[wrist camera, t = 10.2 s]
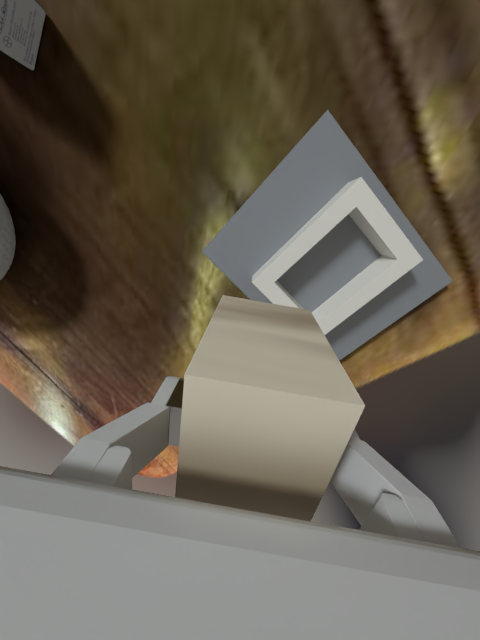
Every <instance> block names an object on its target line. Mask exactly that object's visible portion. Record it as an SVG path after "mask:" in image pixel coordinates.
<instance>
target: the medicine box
mask: <svg viewBox="0 0 480 640" xmlns="http://www.w3.org/2000/svg"><path fill="white" fill-rule="evenodd" d="M45 15H46V14H45V11H44V10H43V9H42V8H41V7H40V6H39V5H38V4H37V3H36V2H35V1H34V0H0V50H1V51H2V52H4V53H5V54H7V55H8V56H10V57H11V58H13V59H14V60H16V61H18V62H19V63H21V64H22V65H24V66H25V67H27V68H29V69H31V70H34V68H35V63H36V58H37V53H38V48H39V44H40V39H41V34H42V29H43V24H44V20H45Z"/></svg>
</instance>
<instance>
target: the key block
mask: <svg viewBox="0 0 480 640" xmlns="http://www.w3.org/2000/svg"><path fill="white" fill-rule="evenodd" d="M364 407H365V405H364V403H363V401H362V400H361V398H360V396H359V394H358V392H357V391H356V389H355V387H354V386H353V384H352V382H351V380H350V379H349V377H348V375H347V373H346V372H345V370H344V368H343V366H342V365H341V363H340V361H339V360H338V358H337V356H336V354H335V353H334V351H333V349H332V347H331V346H330V344H329V342H328V340H327V339H326V337H325V335H324V334H323V332H322V330H321V328H320V327H319V325H318V323H317V321H316V320H315V318H314V316H313V314H312V313H311V311H310V310H306V309H300V308H295V307H289V306H283V305H277V304H271V303H265V302H260V301H254V300H248V299H242V298H236V297H230V296H225V295H223V296H222V298H221V300H220V302H219V304H218V306H217V308H216V310H215V312H214V314H213V316H212V318H211V321H210V323H209V325H208V327H207V329H206V331H205V333H204V335H203V337H202V339H201V341H200V343H199V345H198V347H197V350H196V352H195V354H194V356H193V358H192V360H191V362H190V364H189V366H188V368H187V370H186V372H185V374H184V387H183V401H182V414H181V427H180V441H179V454H178V468H177V481H176V494H175V497H176V498H182V499H188V500H193V501H199V502H204V503H210V504H215V505H221V506H227V507H232V508H238V509H243V510H249V511H254V512H260V513H266V514H271V515H277V516H282V517H288V518H293V519H299V520H305V521H310V522H311V519H312V517H313V515H314V513H315V511H316V509H317V506H318V505H319V502H320V500H321V498H322V496H323V494H324V492H325V490H326V488H327V486H328V483H329V481H330V479H331V477H332V475H333V473H334V471H335V469H336V467H337V465H338V462H339V460H340V458H341V456H342V454H343V452H344V450H345V448H346V446H347V443H348V441H349V439H350V437H351V435H352V433H353V431H354V429H355V426H356V424H357V422H358V420H359V418H360V416H361V414H362V412H363V410H364Z"/></svg>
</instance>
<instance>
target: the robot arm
mask: <svg viewBox="0 0 480 640" xmlns="http://www.w3.org/2000/svg"><path fill="white" fill-rule="evenodd" d="M183 387H184V378H179V377H173V376H167V377H166V378H165V380H164V382H163V383H162V385H161V387H160V388H159V390H158V392H157V393H156V395H155V397H154V399H153V400H152V402H151V403H145V404H144V405H142V406H140V407H138V408H136V409H134V410H132V411H131V412H129V413H127V414H125V415H123V416H121V417H119V418H118V419H116V420H114V421H112V422H110V423H108V424H106V425H105V426H103V427H101V428H99V429H97V430H95V431H93V432H92V433H90V434H88V435H86V436H84V437H82V438H81V439H80V440H79V441H78V443H77V444H76V445H75V446H74V448H73V449H72V450H71V451H70V453H69V454H68V455H67V456H66V457H65V459H64V460H63V461H62V462H61V463H60V465H59V466H58V467H57V468H56V469H55V471H54V472H53V473H52V474H51V475H47V474H42V473H36V472H30V471H25V470H19V469H14V468H8V467H2V466H0V640H480V552H479V551H473V550H467V549H462V548H461V547H460V546H459V544H458V542H457V541H456V539H455V538H454V536H453V534H452V533H451V531H450V529H449V528H448V526H447V525H446V523H445V521H444V520H443V518H442V517H441V515H440V513H439V512H438V510H437V508H436V507H435V505H434V504H433V502H432V501H431V500H430V499H429V498H428V497H427V496H426V495H425V494H424V493H422V492H421V491H420V490H419V489H418V488H417V487H416V486H415V485H413V484H412V483H411V482H410V481H409V480H408V479H407V478H405V477H404V476H403V475H402V474H401V473H400V472H399V471H398V470H396V469H395V468H394V467H393V466H392V465H391V464H390V463H389V462H387V461H386V460H385V459H384V458H383V457H382V456H381V455H379V454H378V453H377V452H376V451H375V450H374V449H373V448H372V447H370V446H369V445H368V444H367V443H366V442H365V441H361V440H360V439H359V436H358V434H357V432H356V430H355V429H354V431H353V433H352V435H351V437H350V439H349V441H348V443H347V446H346V448H345V450H344V452H343V454H342V456H341V458H340V460H339V462H338V465H337V467H336V469H335V471H334V473H333V475H332V477H331V479H330V482H331V483H332V485H333V486H334V488H335V489H336V490H337V492H338V493H339V495H340V496H341V497H342V499H343V500H344V502H345V503H346V505H347V506H348V507H349V509H350V510H351V511H352V513H353V515H354V516H355V517H356V519H357V520H358V522H359V523H360V524H361V526H362V527H361V528H360V530H355V529H350V528H344V527H339V526H332V525H327V524H322V523H316V522H310V521H305V520H299V519H293V518H288V517H282V516H277V515H271V514H266V513H260V512H254V511H249V510H243V509H238V508H232V507H227V506H221V505H215V504H210V503H204V502H199V501H193V500H188V499H182V498H176V497H171V496H165V495H159V494H154V493H148V492H143V491H137V490H132V478H133V477H134V476H135V475H136V474H137V473H138V472H140V471H141V470H142V469H143V468H144V467H145V466H146V465H147V464H148V463H149V462H151V461H152V460H153V459H154V458H155V457H156V456H157V455H158V454H159V453H161V452H162V451H163V450H164V449H165V448H166V447H167V446H168V445H173V446H179V441H180V427H181V414H182V401H183Z"/></svg>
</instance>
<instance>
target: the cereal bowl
mask: <svg viewBox="0 0 480 640" xmlns="http://www.w3.org/2000/svg"><path fill="white" fill-rule="evenodd" d="M14 229H15V228H14V226H13V222H12V218H11V215H10V213H9V209H8V207H7V206H6V203H5V202H4V199H3V197H2V196H1V194H0V280H1V279H2V278H3V277H4V276H5V275H6V272H7V271H8V270H9V268H10V265H11V264H12V260H13V258H14V253H15V246H16V244H15V243H16V241H15V238H16V236H15V231H14Z"/></svg>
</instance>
